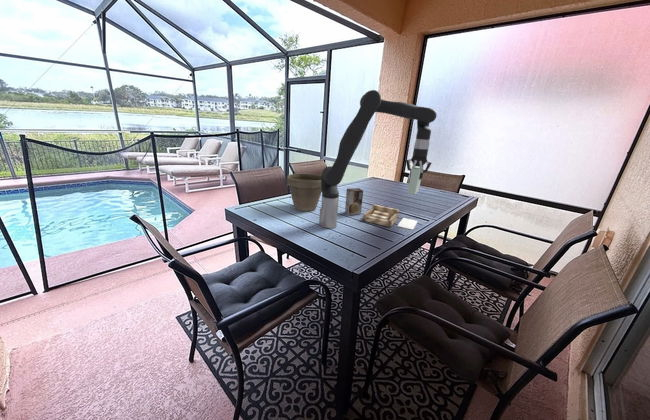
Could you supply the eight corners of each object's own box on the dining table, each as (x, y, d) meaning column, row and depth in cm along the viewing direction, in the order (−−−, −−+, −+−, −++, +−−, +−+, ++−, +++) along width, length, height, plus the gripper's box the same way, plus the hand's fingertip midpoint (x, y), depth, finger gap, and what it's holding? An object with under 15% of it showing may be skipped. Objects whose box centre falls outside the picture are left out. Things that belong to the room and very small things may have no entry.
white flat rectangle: (397, 226, 147) (397, 225, 147) (403, 218, 161) (403, 217, 160) (412, 230, 143) (412, 229, 143) (417, 221, 157) (418, 221, 156)
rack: (363, 220, 153) (364, 211, 151) (372, 212, 167) (373, 204, 165) (390, 227, 146) (391, 217, 144) (397, 218, 160) (399, 209, 158)
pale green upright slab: (411, 189, 151) (416, 166, 146) (418, 190, 149) (423, 166, 145) (407, 193, 141) (411, 168, 136) (415, 194, 139) (419, 169, 135)
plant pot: (308, 200, 186) (309, 171, 179) (331, 209, 169) (333, 178, 162) (279, 206, 170) (279, 174, 163) (302, 217, 153) (302, 182, 146)
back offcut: (372, 219, 157) (373, 211, 155) (374, 217, 159) (375, 210, 158) (386, 222, 152) (387, 214, 151) (388, 221, 155) (389, 213, 153)
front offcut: (370, 220, 154) (371, 214, 153) (372, 219, 156) (373, 213, 155) (384, 224, 149) (385, 218, 148) (386, 223, 152) (387, 217, 150)
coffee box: (357, 211, 169) (359, 187, 164) (361, 214, 164) (363, 190, 158) (344, 211, 167) (346, 188, 161) (348, 215, 161) (350, 190, 155)
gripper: (435, 148, 137) (429, 179, 143) (409, 146, 143) (404, 175, 149) (434, 149, 131) (427, 181, 136) (406, 147, 137) (401, 177, 143)
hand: (415, 178), depth 143 cm, fingers closed on pale green upright slab, 4 cm apart
